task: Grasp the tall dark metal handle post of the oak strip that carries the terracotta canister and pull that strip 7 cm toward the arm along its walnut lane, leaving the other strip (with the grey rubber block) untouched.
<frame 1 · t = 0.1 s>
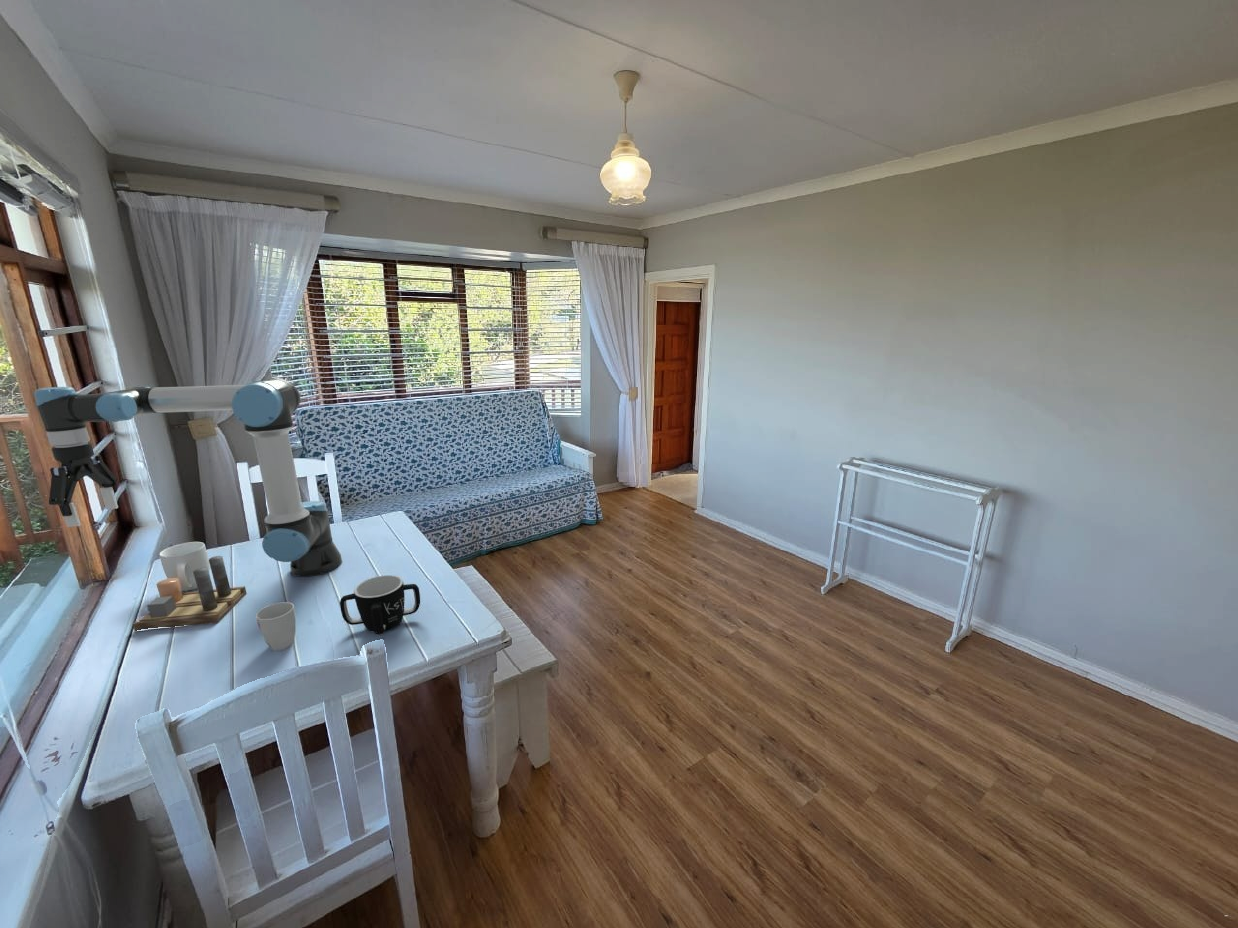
hand: (94, 517, 142), 28 cm above the table, fingers open, 13 cm apart
cup: (282, 645, 130), on the table
mug: (192, 588, 158), on the table
strip B: (179, 594, 139), point 8 cm above the table, slide at 0.0 cm, touching rubber block
lane board: (194, 611, 145), on the table
mug 2: (384, 624, 138), on the table
strip A: (195, 581, 146), point 8 cm above the table, slide at 0.0 cm, touching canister
rubber block: (163, 613, 140), point 2 cm above the table, touching strip B
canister: (172, 599, 146), point 2 cm above the table, touching strip A
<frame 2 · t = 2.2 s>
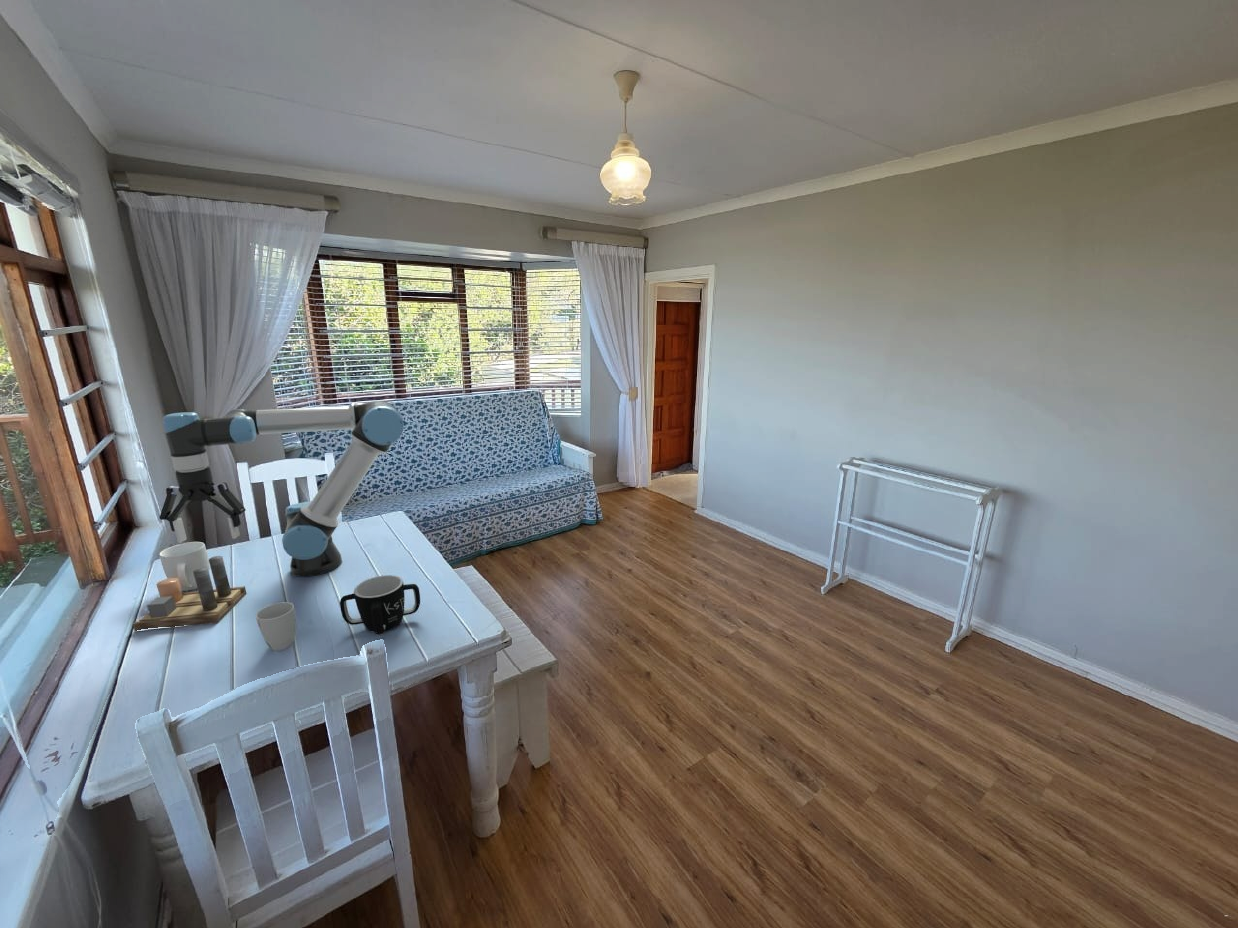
hand: (209, 539, 144), 21 cm above the table, fingers open, 13 cm apart
nothing on the table moved.
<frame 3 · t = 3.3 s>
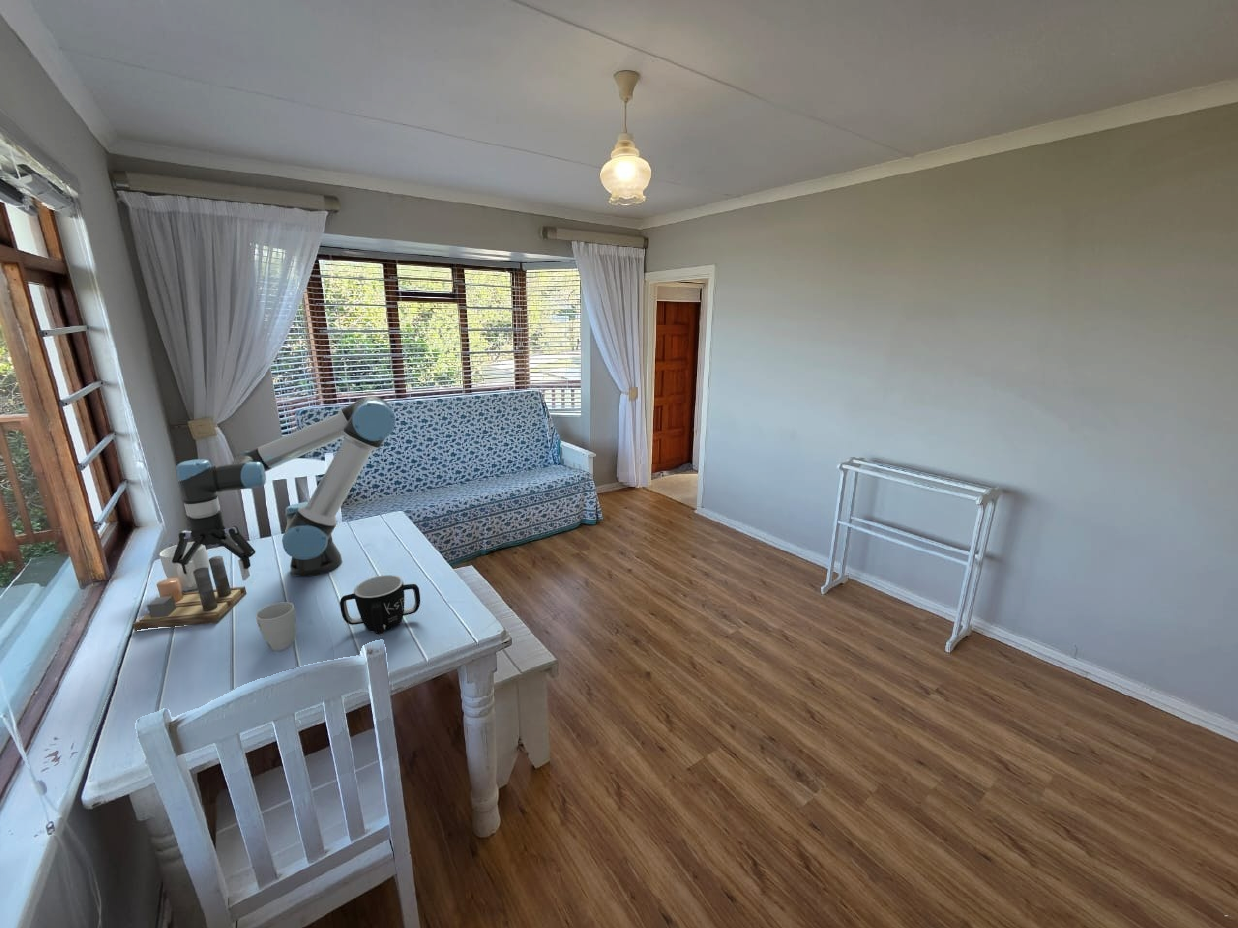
hand: (220, 580, 148), 7 cm above the table, fingers open, 13 cm apart
nothing on the table moved.
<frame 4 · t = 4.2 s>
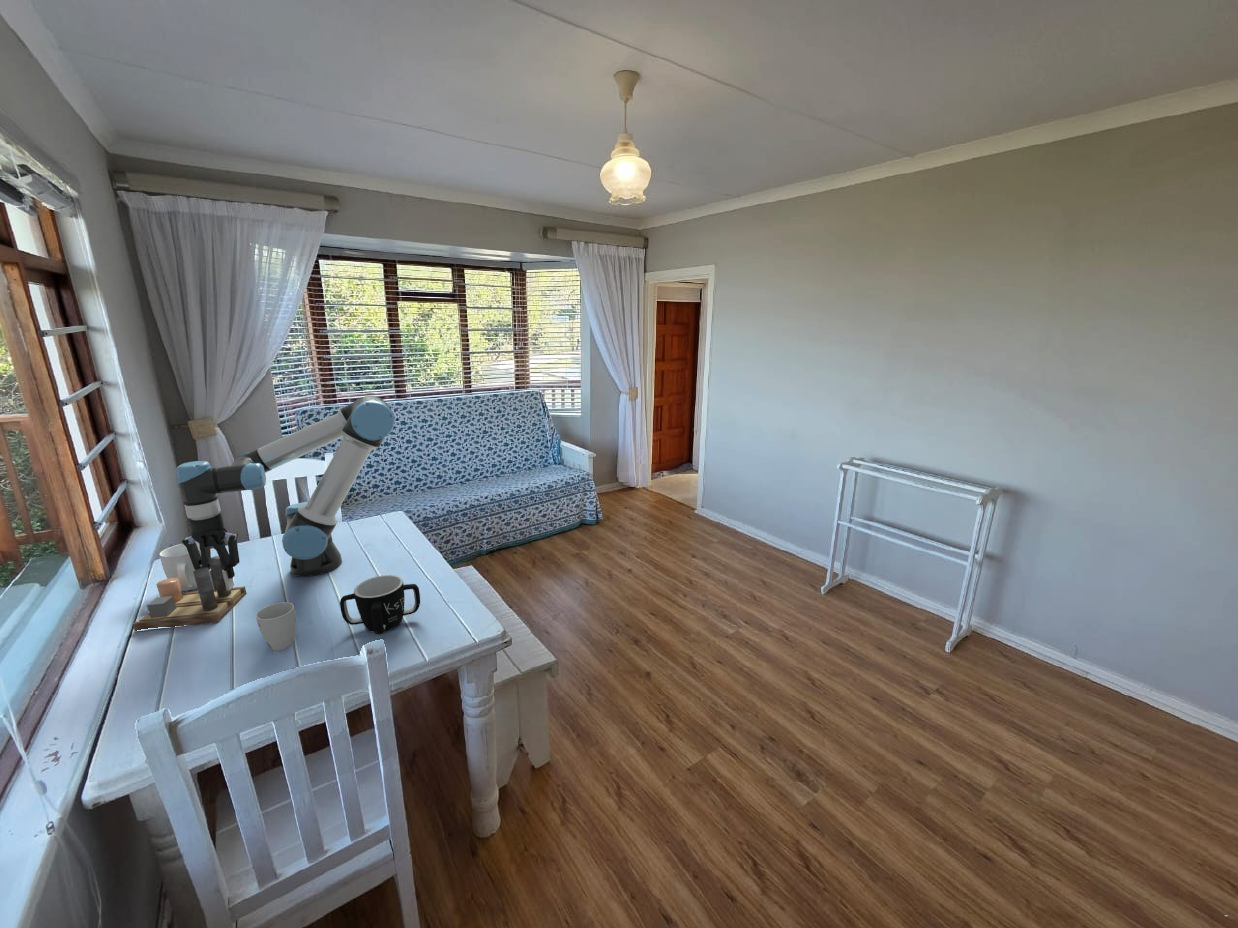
hand: (223, 588, 148), 5 cm above the table, fingers closed on strip A, 3 cm apart
strip A: (195, 581, 146), point 8 cm above the table, slide at 0.0 cm, touching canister, gripper
everything else where it was.
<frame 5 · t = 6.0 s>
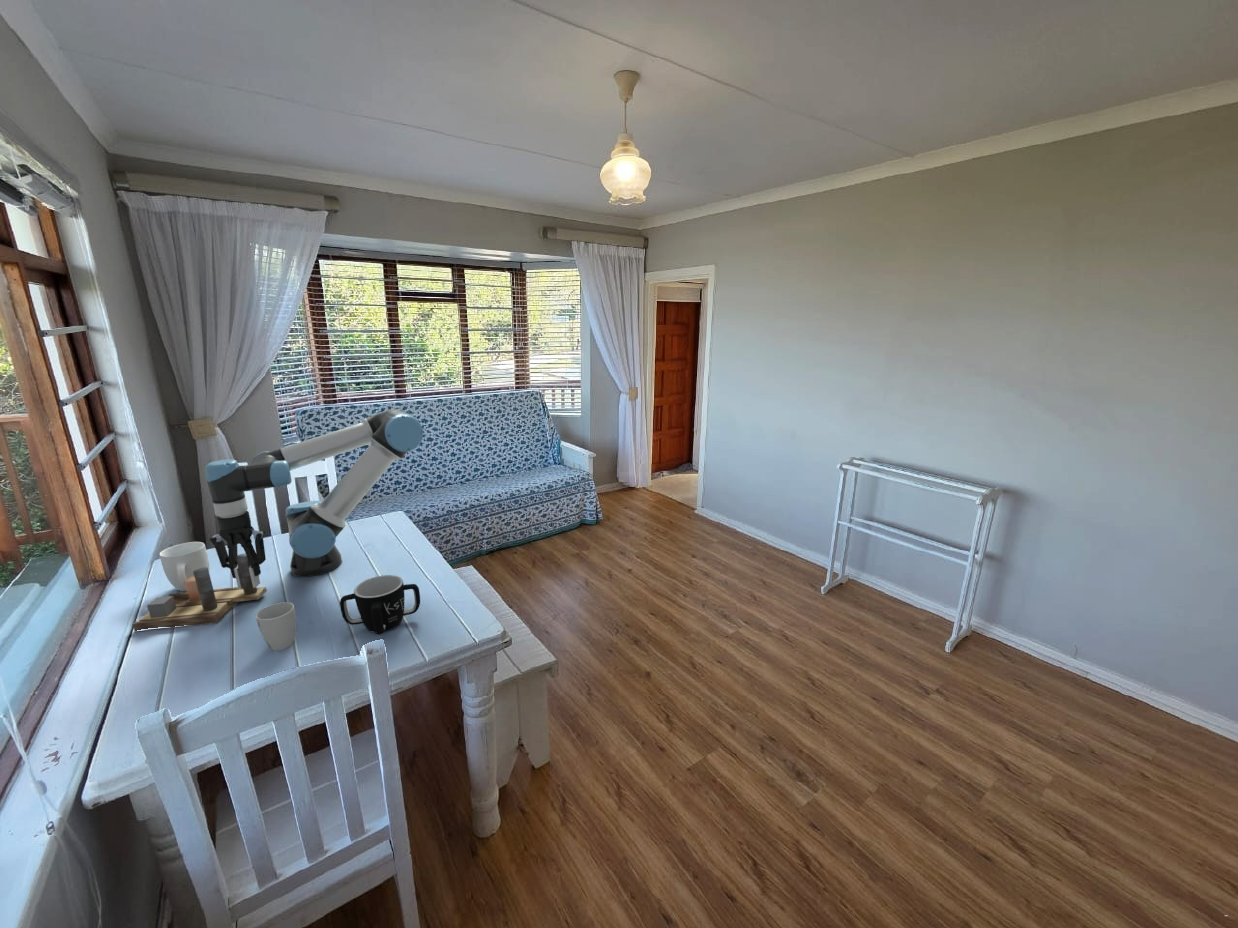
hand: (249, 585, 150), 5 cm above the table, fingers closed on strip A, 3 cm apart
strip A: (222, 578, 148), point 8 cm above the table, slide at 7.0 cm, touching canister, gripper
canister: (199, 597, 148), point 2 cm above the table, touching strip A
everything else where it was.
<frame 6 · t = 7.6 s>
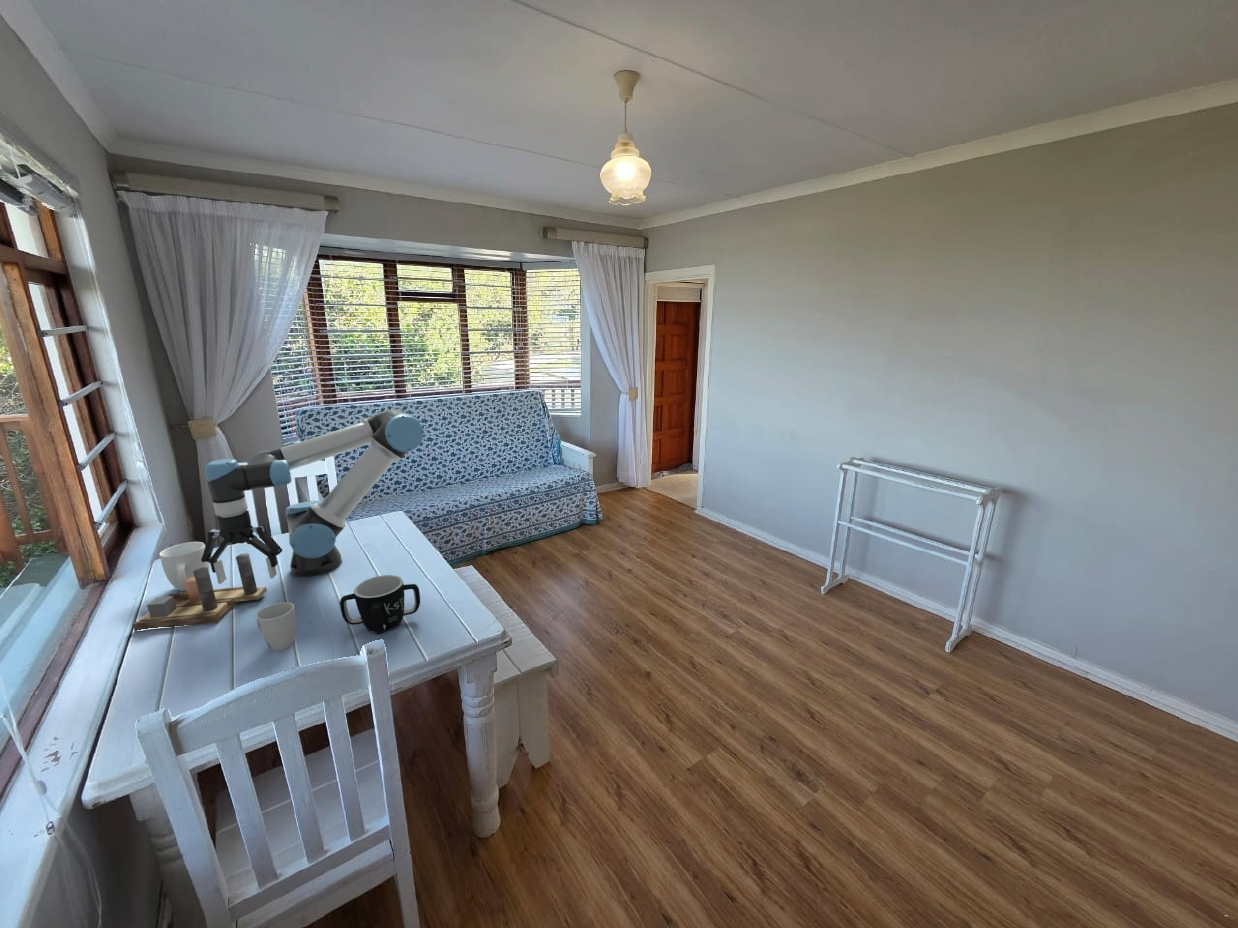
hand: (248, 578, 149), 7 cm above the table, fingers open, 13 cm apart
strip A: (222, 578, 148), point 8 cm above the table, slide at 7.0 cm, touching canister
everything else where it was.
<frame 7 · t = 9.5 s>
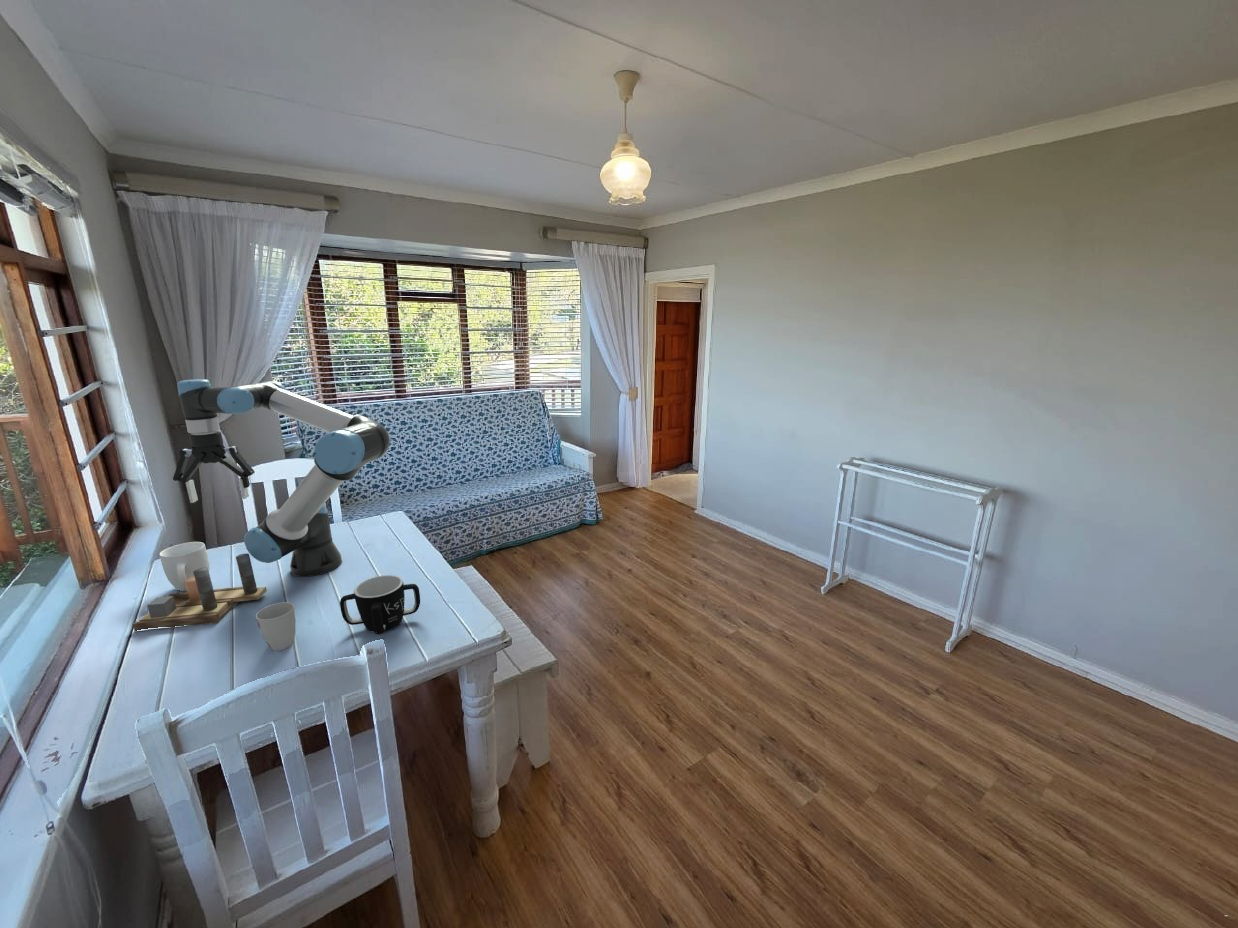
hand: (220, 499, 154), 28 cm above the table, fingers open, 13 cm apart
nothing on the table moved.
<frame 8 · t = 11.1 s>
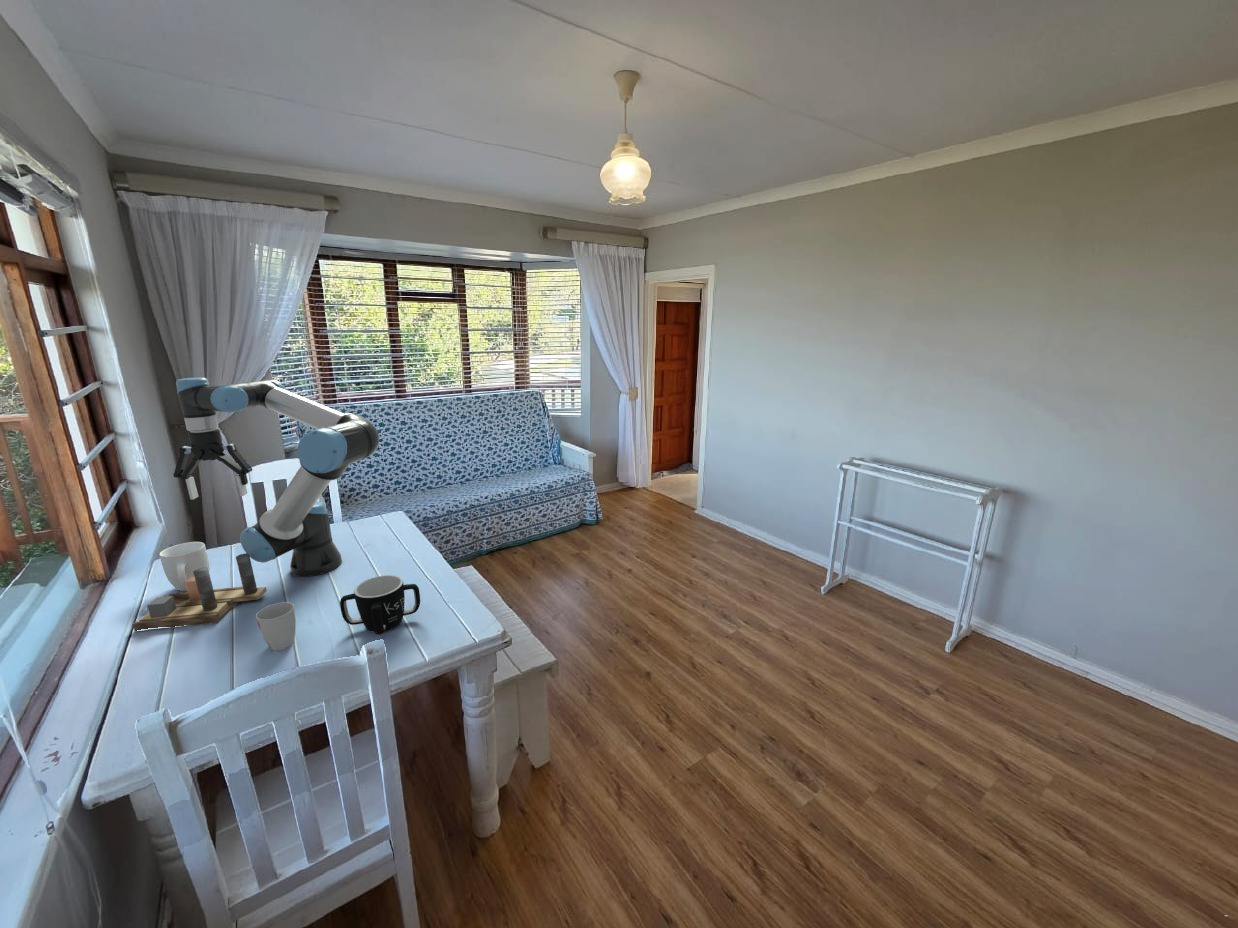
hand: (219, 496, 156), 29 cm above the table, fingers open, 13 cm apart
nothing on the table moved.
at the end: strip A slide at 7.0 cm; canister inside the target area (1.0 cm from its centre), point 2.5 cm above the table; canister tilted 0° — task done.
